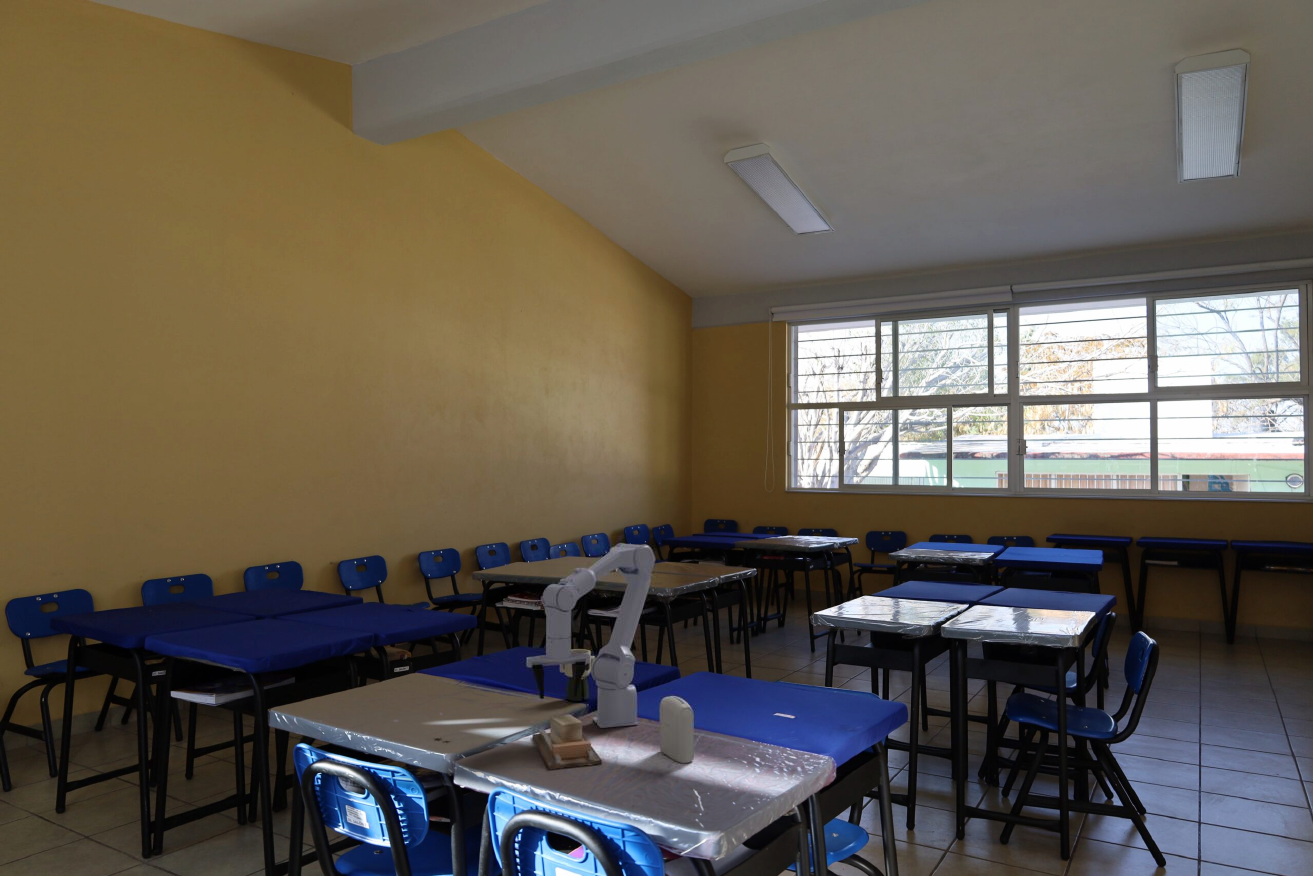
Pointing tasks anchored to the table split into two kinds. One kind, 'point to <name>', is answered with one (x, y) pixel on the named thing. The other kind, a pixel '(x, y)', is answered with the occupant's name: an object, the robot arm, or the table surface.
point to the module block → (565, 729)
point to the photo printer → (677, 729)
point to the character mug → (583, 684)
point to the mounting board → (564, 761)
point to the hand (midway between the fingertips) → (558, 696)
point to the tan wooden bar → (571, 749)
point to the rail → (556, 755)
